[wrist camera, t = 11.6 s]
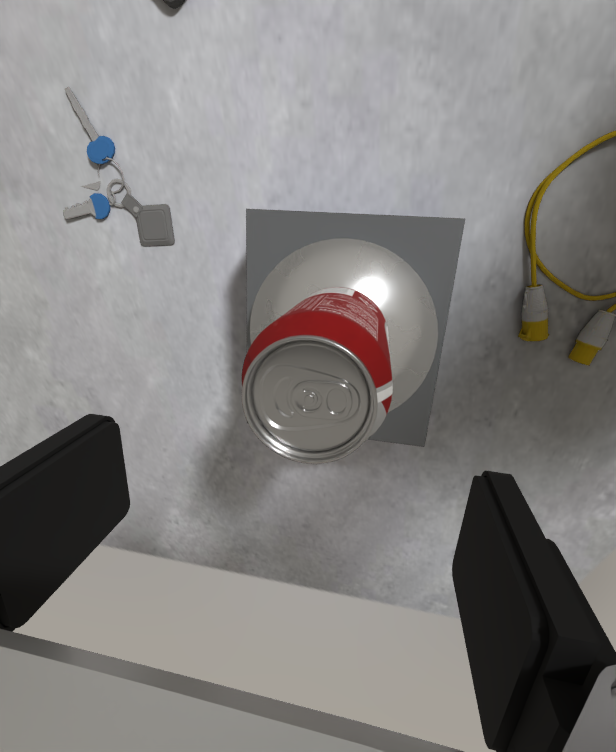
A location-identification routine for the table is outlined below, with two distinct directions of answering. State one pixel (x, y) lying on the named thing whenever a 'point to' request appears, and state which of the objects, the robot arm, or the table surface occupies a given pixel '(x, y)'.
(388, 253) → the scale pan
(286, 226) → the scale
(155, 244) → the key chain
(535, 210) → the extension cord
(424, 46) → the table surface
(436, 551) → the table surface
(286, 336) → the soda can
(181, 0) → the cell phone
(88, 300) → the table surface
